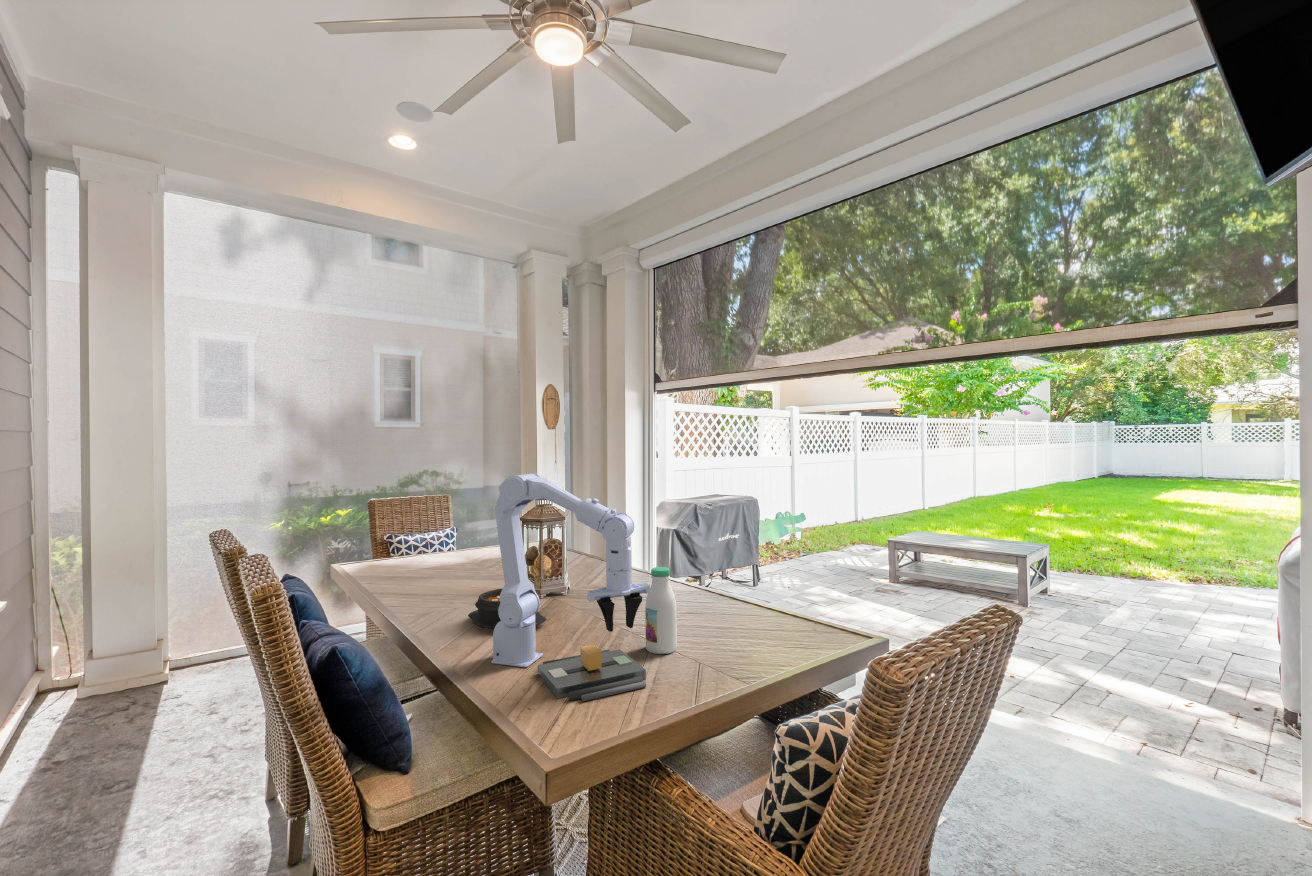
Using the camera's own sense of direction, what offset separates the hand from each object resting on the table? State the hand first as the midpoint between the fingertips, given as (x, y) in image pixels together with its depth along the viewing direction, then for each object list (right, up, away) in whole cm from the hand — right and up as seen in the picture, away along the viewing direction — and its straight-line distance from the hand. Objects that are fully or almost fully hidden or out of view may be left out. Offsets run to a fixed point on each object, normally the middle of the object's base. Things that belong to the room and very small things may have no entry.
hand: (619, 628), depth 134 cm
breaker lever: (-6, -7, -3) cm, 10 cm away
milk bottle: (+9, -9, +13) cm, 19 cm away
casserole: (-34, -10, +34) cm, 49 cm away
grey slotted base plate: (-6, -10, -3) cm, 12 cm away
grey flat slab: (-6, -10, -3) cm, 12 cm away
